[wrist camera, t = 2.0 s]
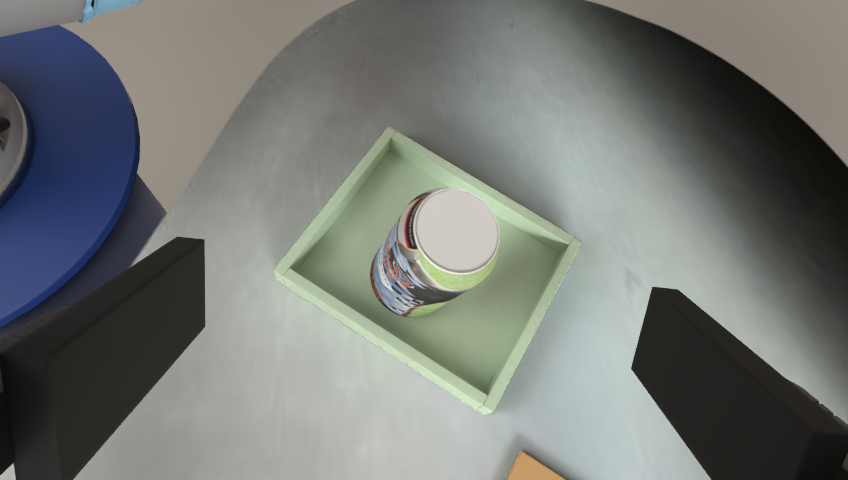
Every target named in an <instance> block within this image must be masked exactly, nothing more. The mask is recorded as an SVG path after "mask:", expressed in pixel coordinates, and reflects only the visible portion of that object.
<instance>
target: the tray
mask: <svg viewBox="0 0 848 480" xmlns="http://www.w3.org/2000/svg"><path fill="white" fill-rule="evenodd" d="M438 188H458V189H464V190H467V191H470V192H472V193H474V194H476V195H477V196H479V197H480V198H481V199H483V200H484V201H485V202H486V203H487V204H488V205H489V207H490V208H491V209H492V211H493V212H494V214H495V216H496V218H497V221H498V224H499V230H500V250H499V255H498V259H497V261H496V264H495V266H494V268H493V269H492V271H491V272H490V274H489V275H488V276H487V277H486V278H485V279H484V280H483V281H481V282H480V283H478V284H477V285H475V286H474V287H472V288H471V289H469V290H467V291H466V292H464V293H463V294H461V295H459V296H458V297H456V298H455V299H453V300H451V301H450V302H448V303H446V304H445V305H443V306H442V307H440V308H438V309H437V310H435V311H434V312H432V313H430V314H428V315H425V316H421V317H413V318H411V317H404V316H400V315H397V314H395V313H393V312H391V311H390V310H388V309H387V308H386V307H384V306H383V305H382V303H381V302H380V301H379V300H378V298H377V297H376V295H375V293H374V291H373V289H372V285H371V281H370V269H371V264H372V261H373V259H374V257H375V255H376V253H377V251H378V250H379V248H380V247H381V245H382V244H383V242H384V240H385V239H386V237H387V236H388V234H389V233H390V231H391V230H392V228H393V226H394V225H395V223H396V222H397V220H398V219H399V217H400V216H401V214H402V212H403V211H404V209H405V208H406V207H407V205H408V204H409V203H410V202H411V201H412V200H413V199H414V198H416V197H417V196H419V195H420V194H422V193H424V192H427V191H429V190H432V189H438ZM581 244H582V242H581V241H580V240H578V239H576V238H575V237H573V236H572V235H570V234H568V233H567V232H565V231H563V230H562V229H560V228H558V227H557V226H555V225H553V224H552V223H550V222H548V221H547V220H545V219H543V218H542V217H540V216H538V215H537V214H535V213H533V212H532V211H530V210H528V209H526V208H525V207H523V206H521V205H520V204H518V203H516V202H515V201H513V200H511V199H510V198H508V197H506V196H505V195H503V194H501V193H500V192H498V191H496V190H495V189H493V188H491V187H490V186H488V185H486V184H485V183H483V182H481V181H480V180H478V179H476V178H475V177H473V176H471V175H470V174H468V173H466V172H464V171H463V170H461V169H459V168H458V167H456V166H454V165H453V164H451V163H449V162H448V161H446V160H444V159H443V158H441V157H439V156H438V155H436V154H434V153H433V152H431V151H429V150H428V149H426V148H424V147H423V146H421V145H419V144H418V143H416V142H414V141H413V140H411V139H409V138H408V137H406V136H404V135H403V134H401V133H399V132H397V131H396V130H394V129H392V128H391V127H389V126H388V127H387V128H386V130H385V131H384V132H383V133H382V135H381V136H380V137H379V138H378V140H377V141H376V142H375V143H374V145H373V146H372V147H371V148H370V150H369V151H368V152H367V153H366V155H365V156H364V157H363V158H362V160H361V161H360V162H359V163H358V165H357V166H356V167H355V168H354V170H353V171H352V172H351V173H350V175H349V176H348V177H347V178H346V180H345V181H344V182H343V183H342V185H341V186H340V187H339V188H338V190H337V191H336V192H335V193H334V195H333V196H332V197H331V198H330V200H329V201H328V202H327V203H326V205H325V206H324V207H323V208H322V210H321V211H320V212H319V213H318V215H317V216H316V217H315V218H314V220H313V221H312V222H311V223H310V225H309V226H308V227H307V228H306V230H305V231H304V232H303V233H302V235H301V236H300V237H299V238H298V240H297V241H296V242H295V243H294V245H293V246H292V247H291V248H290V250H289V251H288V252H287V253H286V255H285V256H284V257H283V258H282V260H281V261H280V262H279V263H278V265H277V266H276V267H275V268H274V270H273V271H274V274H275V276H276V278H277V281H278V282H280V283H281V284H283V285H284V286H286V287H287V288H289V289H290V290H292V291H294V292H295V293H297V294H298V295H300V296H301V297H303V298H304V299H306V300H307V301H309V302H310V303H312V304H314V305H315V306H317V307H318V308H320V309H321V310H323V311H324V312H326V313H327V314H329V315H331V316H332V317H334V318H335V319H337V320H338V321H340V322H341V323H343V324H344V325H346V326H347V327H349V328H351V329H352V330H354V331H355V332H357V333H358V334H360V335H361V336H363V337H364V338H366V339H368V340H369V341H371V342H372V343H374V344H375V345H377V346H378V347H380V348H381V349H383V350H384V351H386V352H388V353H389V354H391V355H392V356H394V357H395V358H397V359H398V360H400V361H401V362H403V363H405V364H406V365H408V366H409V367H411V368H412V369H414V370H415V371H417V372H418V373H420V374H421V375H423V376H425V377H426V378H428V379H429V380H431V381H432V382H434V383H435V384H437V385H438V386H440V387H442V388H443V389H445V390H446V391H448V392H449V393H451V394H452V395H454V396H455V397H457V398H458V399H460V400H462V401H463V402H465V403H466V404H468V405H469V406H471V407H472V408H474V409H475V410H477V411H478V412H480V413H482V414H483V415H486V414H489V413H492V412H494V410H495V408H496V406H497V404H498V402H499V400H500V398H501V396H502V394H503V392H504V391H505V389H506V387H507V385H508V383H509V381H510V379H511V377H512V375H513V373H514V371H515V370H516V368H517V366H518V364H519V362H520V360H521V358H522V356H523V354H524V352H525V350H526V349H527V347H528V345H529V343H530V341H531V339H532V337H533V335H534V333H535V331H536V330H537V328H538V326H539V324H540V322H541V320H542V318H543V316H544V314H545V312H546V310H547V309H548V307H549V305H550V303H551V301H552V299H553V297H554V295H555V293H556V291H557V289H558V288H559V286H560V284H561V282H562V280H563V278H564V276H565V274H566V272H567V270H568V268H569V267H570V265H571V263H572V261H573V259H574V257H575V255H576V253H577V251H578V249H579V248H580V246H581Z"/></svg>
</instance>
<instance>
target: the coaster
mask: <svg viewBox="0 0 848 480" xmlns="http://www.w3.org/2000/svg"><path fill="white" fill-rule="evenodd" d="M506 480H566V479H564V478H562V477H561V476H559V475H558V474H556V473H555V472H553V471H552V470H550V469H549V468H547V467H546V466H544V465H542V464H541V463H539V462H538V461H536V460H535V459H533V458H532V457H530V456H529V455H527V454H526V453H524V452H523V451H520V452H519V454H518V456H517V458H516V460H515V462H514V464H513V466H512V469H511V471H510V473H509V475H508V477H507V479H506Z"/></svg>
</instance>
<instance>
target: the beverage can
mask: <svg viewBox="0 0 848 480" xmlns="http://www.w3.org/2000/svg"><path fill="white" fill-rule="evenodd" d="M499 250H500V230H499V224H498V221H497V218H496V216H495V214H494V212H493V211H492V209H491V208H490V207H489V205H488V204H487V203H486V202H485V201H484V200H483V199H481V198H480V197H479V196H477V195H476V194H474V193H472V192H470V191H467V190H464V189H458V188H438V189H432V190H429V191H427V192H424V193H422V194H420V195H419V196H417V197H416V198H414V199H413V200H412V201H411V202H410V203H409V204H408V205H407V207H406V208H405V209H404V211H403V212H402V214H401V216H400V217H399V219H398V220H397V222H396V223H395V225H394V226H393V228H392V230H391V231H390V233H389V234H388V236H387V237H386V239H385V240H384V242H383V244H382V245H381V247H380V248H379V250H378V251H377V253H376V255H375V257H374V259H373V261H372V264H371V269H370V281H371V285H372V289H373V291H374V293H375V295H376V297H377V298H378V300H379V301H380V302H381V303H382V305H383V306H384V307H386V308H387V309H388V310H390V311H391V312H393V313H395V314H397V315H400V316H404V317H411V318H413V317H421V316H425V315H428V314H430V313H432V312H434V311H435V310H437V309H438V308H440V307H442V306H443V305H445V304H446V303H448V302H450V301H451V300H453V299H455V298H456V297H458V296H459V295H461V294H463V293H464V292H466V291H467V290H469V289H471V288H472V287H474V286H475V285H477V284H478V283H480V282H481V281H483V280H484V279H485V278H486V277H487V276H488V275H489V274H490V272H491V271H492V269H493V268H494V266H495V264H496V261H497V259H498V255H499Z"/></svg>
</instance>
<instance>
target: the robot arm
mask: <svg viewBox="0 0 848 480" xmlns="http://www.w3.org/2000/svg"><path fill="white" fill-rule="evenodd" d="M141 1H142V0H0V37H3V36H8V35H13V34H18V33H22V32H27V31H32V30H37V29H41V28H46V27H51V26H56V25H60V24H65V23H70V22H75V21H78V22H81V23H85V22H87V21H88V20H91V19H92V18H93V17H94V16H95V15H99V14H103V13H107V12H111V11H114V10H118V9H122V8H126V7H129V6H133V5H135V4H137V3H139V2H141ZM34 148H35V133H34V127H33V123H32V120H31V117H30V115H29V113H28V111H27V110H26V108H25V106H24V105H23V104H22V102H21V101H20V100H19V99H18V98H17V97H16V96H15V94H14V93H13V92H12V91H11V90H10V89H9V88H8V87H7V86H6V85H5V84H4V83H3V82H2V81H1V80H0V209H1V208H2V207H3V206H4V205H5V204H6V203H7V202H8V201H9V200H10V199H11V197H12V196H13V195H14V194H15V192H16V191H17V190H18V188H19V187H20V185H21V184H22V182H23V180H24V179H25V177H26V175H27V173H28V170H29V168H30V165H31V162H32V159H33V154H34ZM204 327H205V254H204V240H203V239H194V238H184V237H176V238H175V239H173V240H172V241H170V242H168V243H167V244H165V245H164V246H162V247H161V248H159V249H158V250H156V251H155V252H153V253H152V254H150V255H149V256H147V257H146V258H144V259H143V260H141V261H139V262H138V263H136V264H135V265H133V266H132V267H130V268H129V269H127V270H126V271H124V272H123V273H121V274H120V275H118V276H117V277H115V278H114V279H112V280H111V281H109V282H107V283H106V284H104V285H103V286H101V287H100V288H98V289H97V290H95V291H94V292H92V293H91V294H89V295H88V296H86V297H85V298H83V299H82V300H80V301H78V302H77V303H75V304H74V305H72V306H69V305H66V306H63V307H60V308H58V309H55V310H52V311H49V312H46V313H43V314H41V315H40V316H38V317H36V318H35V319H33V320H32V321H30V322H28V323H27V324H25V325H24V326H23V328H19V329H17V330H16V331H14V332H12V333H11V334H9V335H8V338H6V337H4V338H3V339H1V340H0V475H1V474H2V473H3V472H4V471H5V470H6V469H7V468H8V467H9V466H11V465H12V464H13V463H14V468H15V475H16V480H73V479H74V478H75V477H76V476H77V474H78V473H79V472H80V471H81V470H82V469H83V467H84V466H85V465H86V464H87V463H88V462H89V460H90V459H91V458H92V457H93V456H94V455H95V454H96V452H97V451H98V450H99V449H100V448H101V447H102V445H103V444H104V443H105V442H106V441H107V440H108V438H109V437H110V436H111V435H112V434H113V433H114V432H115V430H116V429H117V428H118V427H119V426H120V425H121V423H122V422H123V421H124V420H125V419H126V418H127V416H128V415H129V414H130V413H131V412H132V411H133V410H134V408H135V407H136V406H137V405H138V404H139V403H140V401H141V400H142V399H143V398H144V397H145V396H146V394H147V393H148V392H149V391H150V390H151V389H152V388H153V386H154V385H155V384H156V383H157V382H158V381H159V379H160V378H161V377H162V376H163V375H164V374H165V372H166V371H167V370H168V369H169V368H170V367H171V366H172V364H173V363H174V362H175V361H176V360H177V359H178V357H179V356H180V355H181V354H182V353H183V352H184V350H185V349H186V348H187V347H188V346H189V345H190V344H191V342H192V341H193V340H194V339H195V338H196V337H197V335H198V334H199V333H200V332H201V331H202V330H203V328H204ZM631 369H632V371H633V372H634V373H635V375H636V376H637V377H638V379H639V380H640V382H641V383H642V384H643V386H644V387H645V388H646V390H647V391H648V393H649V394H650V395H651V397H652V398H653V400H654V401H655V402H656V404H657V405H658V406H659V408H660V409H661V411H662V412H663V413H664V415H665V416H666V418H667V419H668V420H669V422H670V423H671V424H672V426H673V427H674V429H675V430H676V431H677V433H678V434H679V436H680V437H681V438H682V440H683V441H684V442H685V444H686V445H687V447H688V448H689V449H690V451H691V452H692V453H693V455H694V456H695V458H696V459H697V460H698V462H699V463H700V465H701V466H702V467H703V469H704V470H705V471H706V473H707V474H708V476H709V477H710V478H711V480H848V425H847V424H846V423H845V422H844V421H842V420H841V419H840V418H839V417H837V416H833V413H832V412H831V411H830V410H829V409H828V408H826V407H825V406H824V405H823V404H819V401H818V400H817V399H815V398H814V397H813V396H812V395H810V394H809V393H808V392H807V391H805V390H804V389H803V388H802V387H800V386H798V385H796V384H795V383H793V382H791V381H789V380H787V379H786V378H784V377H783V376H782V375H781V374H780V373H778V372H777V371H776V370H775V369H773V368H772V367H771V366H770V365H769V364H767V363H766V362H765V361H764V360H763V359H761V358H760V357H759V356H758V355H756V354H755V353H754V352H753V351H752V350H750V349H749V348H748V347H747V346H746V345H744V344H743V343H742V342H741V341H740V340H738V339H737V338H736V337H735V336H733V335H732V334H731V333H730V332H729V331H727V330H726V329H725V328H724V327H723V326H721V325H720V324H719V323H718V322H716V321H715V320H714V319H713V318H712V317H710V316H709V315H708V314H707V313H706V312H704V311H703V310H702V309H701V308H700V307H698V306H697V305H696V304H695V303H693V302H692V301H691V300H690V299H689V298H687V297H686V296H685V295H684V294H683V293H681V292H680V291H679V290H677V289H668V288H658V287H652V291H651V295H650V298H649V302H648V306H647V310H646V314H645V318H644V321H643V325H642V329H641V333H640V337H639V340H638V344H637V348H636V352H635V356H634V360H633V363H632V367H631Z"/></svg>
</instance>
